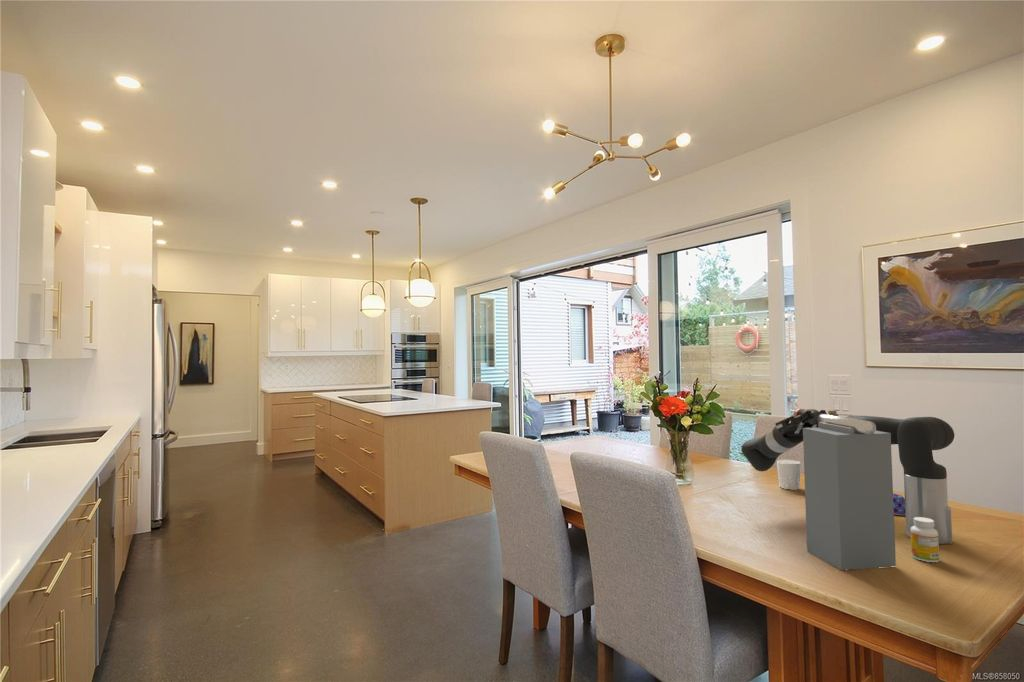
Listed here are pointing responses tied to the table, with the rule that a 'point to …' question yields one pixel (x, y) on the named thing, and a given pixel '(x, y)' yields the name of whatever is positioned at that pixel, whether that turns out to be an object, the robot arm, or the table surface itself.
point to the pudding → (898, 504)
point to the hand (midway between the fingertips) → (818, 413)
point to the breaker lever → (840, 421)
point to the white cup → (788, 474)
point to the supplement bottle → (924, 540)
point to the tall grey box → (849, 497)
